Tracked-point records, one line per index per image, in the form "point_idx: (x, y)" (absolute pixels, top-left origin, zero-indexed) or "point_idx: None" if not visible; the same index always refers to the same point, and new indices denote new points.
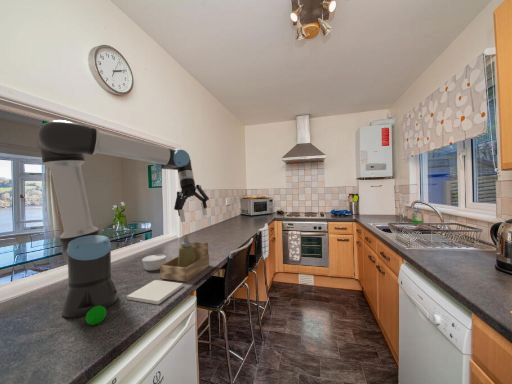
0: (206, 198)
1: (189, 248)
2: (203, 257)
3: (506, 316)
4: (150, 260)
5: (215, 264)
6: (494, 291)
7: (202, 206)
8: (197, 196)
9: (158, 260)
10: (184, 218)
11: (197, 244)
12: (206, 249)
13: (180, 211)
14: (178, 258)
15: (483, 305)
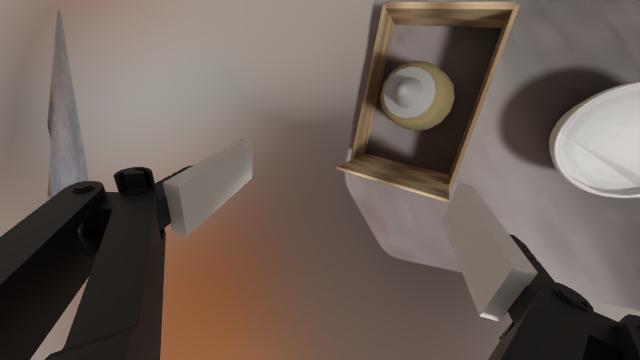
0: (75, 183)
1: (388, 79)
2: (358, 123)
3: (56, 21)
4: (637, 93)
5: None
6: (56, 77)
7: (200, 164)
8: (119, 261)
9: (579, 106)
10: (450, 232)
11: (387, 178)
12: (352, 163)
13: (498, 246)
14: (447, 77)
15: (62, 40)
